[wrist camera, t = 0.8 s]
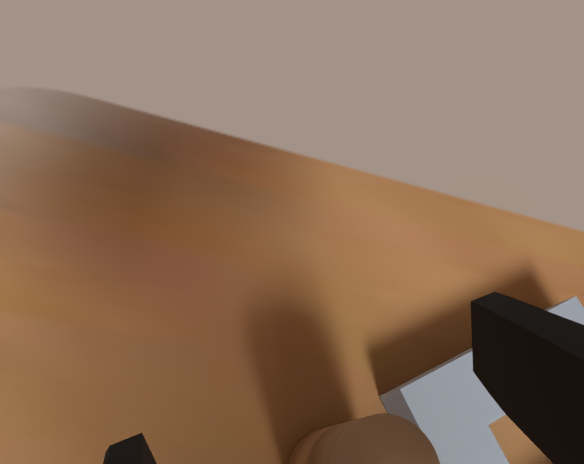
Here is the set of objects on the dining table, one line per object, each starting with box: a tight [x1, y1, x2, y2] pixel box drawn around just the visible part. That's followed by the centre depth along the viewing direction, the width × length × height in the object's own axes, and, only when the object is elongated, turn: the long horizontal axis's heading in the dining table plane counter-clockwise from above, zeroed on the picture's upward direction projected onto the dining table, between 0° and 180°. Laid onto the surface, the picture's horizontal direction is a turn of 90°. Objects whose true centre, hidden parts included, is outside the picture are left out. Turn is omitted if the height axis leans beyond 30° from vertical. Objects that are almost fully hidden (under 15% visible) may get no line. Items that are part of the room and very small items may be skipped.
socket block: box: [379, 296, 584, 464], centre depth 26 cm, size 12×12×2 cm
